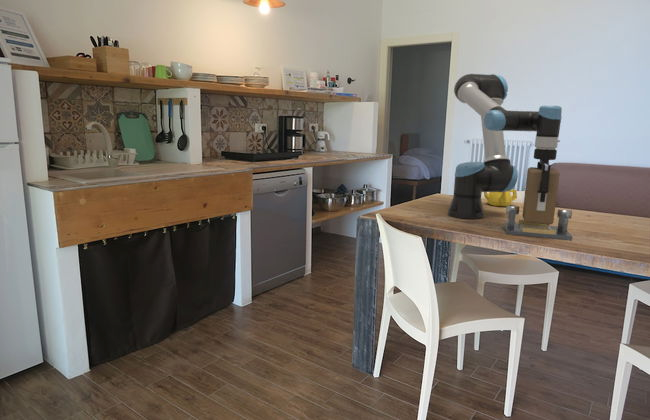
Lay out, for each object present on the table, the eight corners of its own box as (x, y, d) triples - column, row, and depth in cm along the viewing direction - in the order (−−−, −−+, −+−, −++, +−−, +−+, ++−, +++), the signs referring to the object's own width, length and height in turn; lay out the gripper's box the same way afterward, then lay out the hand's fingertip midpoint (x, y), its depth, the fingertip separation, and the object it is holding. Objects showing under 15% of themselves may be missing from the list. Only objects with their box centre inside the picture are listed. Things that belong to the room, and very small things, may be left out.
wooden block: (549, 219, 177) (556, 168, 173) (553, 225, 167) (560, 171, 163) (521, 217, 180) (527, 166, 176) (523, 222, 171) (529, 169, 166)
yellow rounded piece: (478, 204, 230) (480, 184, 228) (494, 201, 238) (496, 182, 236) (503, 208, 219) (505, 188, 217) (519, 206, 227) (521, 186, 225)
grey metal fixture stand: (505, 234, 171) (508, 209, 169) (503, 225, 185) (505, 202, 183) (572, 240, 164) (575, 214, 162) (564, 230, 178) (567, 206, 176)
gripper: (562, 150, 156) (554, 214, 161) (552, 147, 178) (545, 203, 182) (538, 149, 159) (531, 212, 163) (531, 146, 180) (524, 202, 184)
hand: (538, 207), depth 173 cm, fingers closed on wooden block, 10 cm apart
